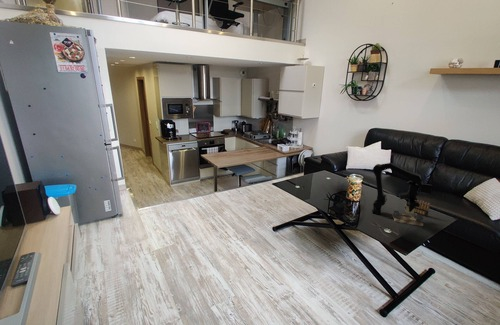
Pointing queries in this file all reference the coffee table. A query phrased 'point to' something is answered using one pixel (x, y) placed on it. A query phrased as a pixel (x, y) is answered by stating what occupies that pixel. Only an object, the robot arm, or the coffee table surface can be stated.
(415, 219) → the shaft stand
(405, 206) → the block
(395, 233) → the pliers
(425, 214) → the ammunition clip
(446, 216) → the coffee table surface
